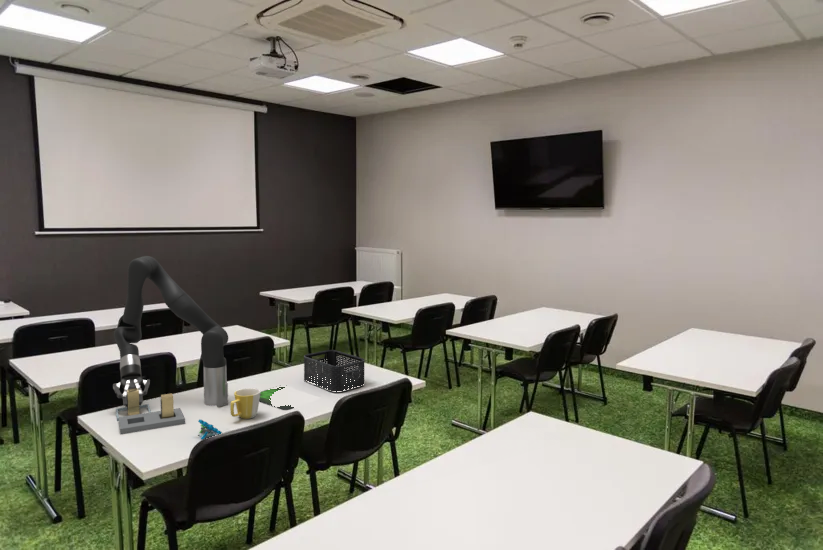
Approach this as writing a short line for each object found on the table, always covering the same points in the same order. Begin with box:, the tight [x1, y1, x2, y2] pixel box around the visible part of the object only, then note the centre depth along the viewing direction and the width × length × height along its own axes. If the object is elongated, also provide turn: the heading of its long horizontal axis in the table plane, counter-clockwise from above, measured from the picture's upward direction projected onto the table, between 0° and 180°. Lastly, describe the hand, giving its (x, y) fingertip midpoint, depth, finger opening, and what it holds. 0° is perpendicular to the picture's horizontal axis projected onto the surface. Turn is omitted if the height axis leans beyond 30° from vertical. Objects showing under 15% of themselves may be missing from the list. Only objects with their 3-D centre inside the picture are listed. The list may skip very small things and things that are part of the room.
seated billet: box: [160, 393, 175, 419], centre depth 206 cm, size 4×4×10 cm
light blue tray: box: [115, 403, 152, 422], centre depth 213 cm, size 12×12×2 cm
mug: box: [229, 387, 261, 420], centre depth 214 cm, size 14×10×10 cm
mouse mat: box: [259, 387, 295, 411], centre depth 240 cm, size 27×22×1 cm
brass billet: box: [126, 388, 141, 416], centre depth 213 cm, size 4×4×10 cm
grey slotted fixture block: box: [118, 407, 186, 435], centre depth 204 cm, size 22×13×3 cm, turn 121°
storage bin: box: [303, 349, 365, 392], centre depth 261 cm, size 29×19×13 cm
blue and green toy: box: [197, 418, 223, 440], centre depth 194 cm, size 11×6×10 cm
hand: (133, 405), depth 211 cm, fingers closed on brass billet, 4 cm apart
